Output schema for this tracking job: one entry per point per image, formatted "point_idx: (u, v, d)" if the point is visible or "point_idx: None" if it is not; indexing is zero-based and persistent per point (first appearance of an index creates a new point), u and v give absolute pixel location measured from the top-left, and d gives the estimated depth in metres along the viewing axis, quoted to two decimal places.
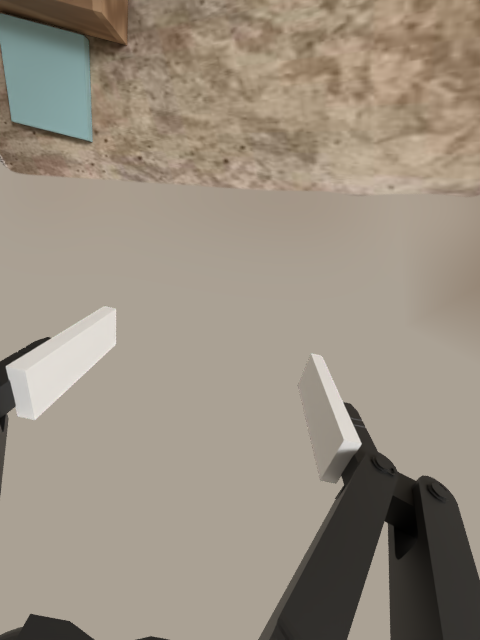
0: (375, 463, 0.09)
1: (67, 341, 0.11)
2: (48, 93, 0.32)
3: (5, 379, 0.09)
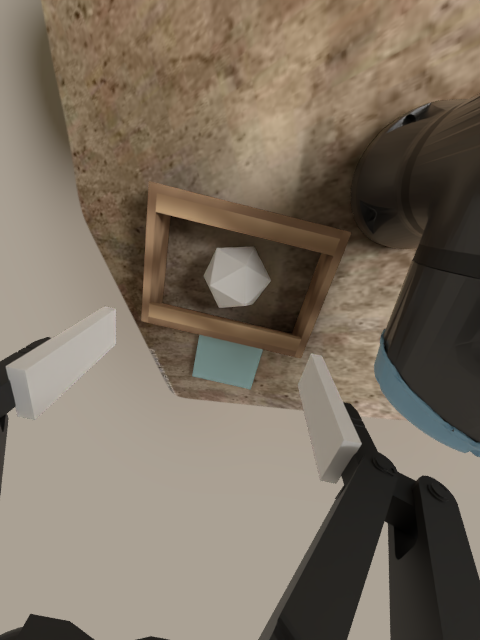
0: (375, 463, 0.09)
1: (67, 341, 0.11)
2: (227, 364, 0.42)
3: (5, 379, 0.09)
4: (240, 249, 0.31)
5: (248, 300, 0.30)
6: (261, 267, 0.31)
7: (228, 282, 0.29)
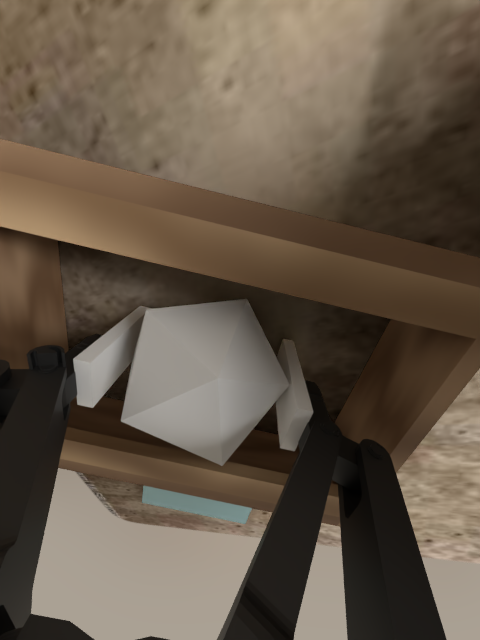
0: (323, 428, 0.10)
1: (117, 337, 0.12)
2: None
3: (71, 370, 0.11)
4: (210, 310, 0.12)
5: (231, 450, 0.11)
6: (265, 355, 0.12)
7: (171, 417, 0.10)
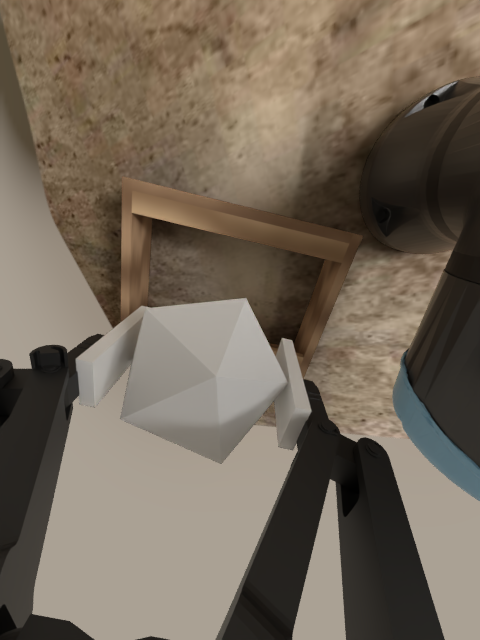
0: (321, 427, 0.10)
1: (119, 337, 0.12)
2: None
3: (73, 370, 0.11)
4: (209, 309, 0.12)
5: (230, 449, 0.11)
6: (264, 354, 0.12)
7: (170, 415, 0.10)
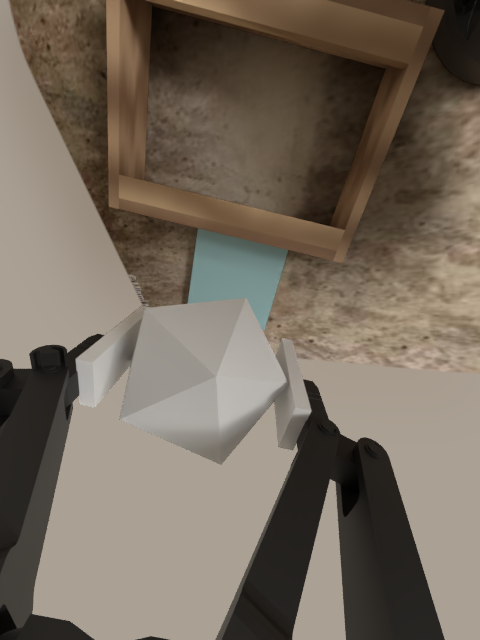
0: (321, 427, 0.10)
1: (119, 337, 0.12)
2: (233, 293, 0.31)
3: (73, 370, 0.11)
4: (209, 309, 0.12)
5: (230, 449, 0.11)
6: (264, 354, 0.12)
7: (170, 415, 0.10)
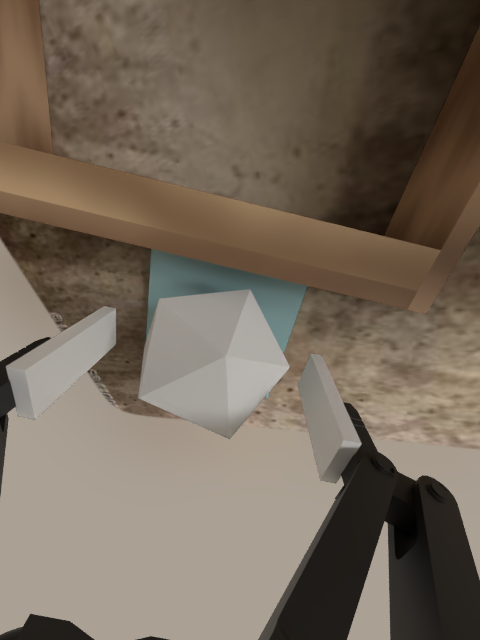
0: (375, 463, 0.09)
1: (67, 341, 0.11)
2: None
3: (5, 379, 0.09)
4: (217, 299, 0.13)
5: (237, 425, 0.12)
6: (267, 339, 0.13)
7: (184, 393, 0.11)
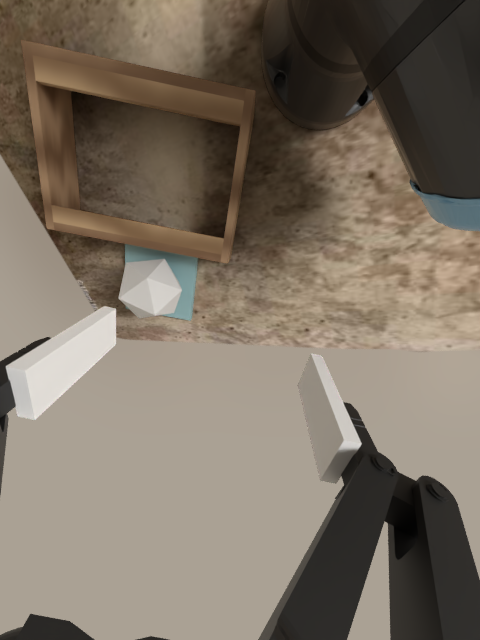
0: (375, 463, 0.09)
1: (67, 341, 0.11)
2: None
3: (5, 379, 0.09)
4: (149, 262, 0.32)
5: (158, 310, 0.32)
6: (170, 278, 0.33)
7: (134, 294, 0.31)
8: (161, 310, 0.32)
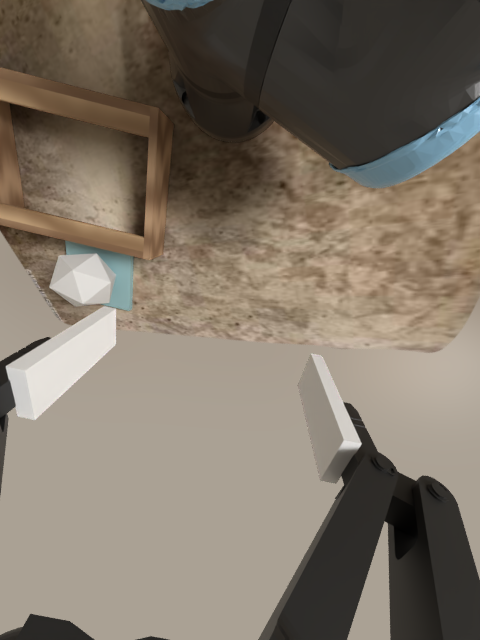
0: (375, 463, 0.09)
1: (67, 341, 0.11)
2: None
3: (5, 379, 0.09)
4: (80, 256, 0.36)
5: (85, 299, 0.35)
6: (99, 271, 0.36)
7: (63, 284, 0.34)
8: (90, 299, 0.36)
